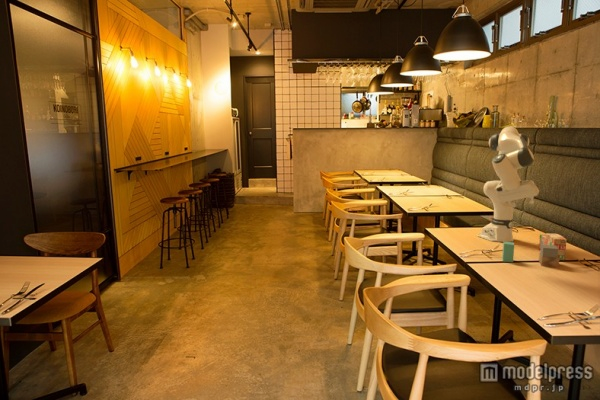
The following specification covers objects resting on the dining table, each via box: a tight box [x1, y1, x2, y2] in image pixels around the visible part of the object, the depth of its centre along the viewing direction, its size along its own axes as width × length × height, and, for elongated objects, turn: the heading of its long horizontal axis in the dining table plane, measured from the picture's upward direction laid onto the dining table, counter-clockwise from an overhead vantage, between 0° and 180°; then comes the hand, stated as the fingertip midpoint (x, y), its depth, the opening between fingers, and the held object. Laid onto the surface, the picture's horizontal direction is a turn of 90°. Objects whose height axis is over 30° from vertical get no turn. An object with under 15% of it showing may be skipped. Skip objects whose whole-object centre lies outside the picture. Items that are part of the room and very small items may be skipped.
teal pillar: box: [501, 241, 515, 263], centre depth 232 cm, size 5×5×10 cm
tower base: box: [538, 253, 560, 268], centre depth 225 cm, size 8×8×5 cm
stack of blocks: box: [538, 232, 568, 261], centre depth 242 cm, size 21×6×12 cm, turn 169°
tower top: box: [539, 244, 559, 258], centre depth 225 cm, size 7×7×5 cm
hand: (523, 205), depth 221 cm, fingers open, 8 cm apart
